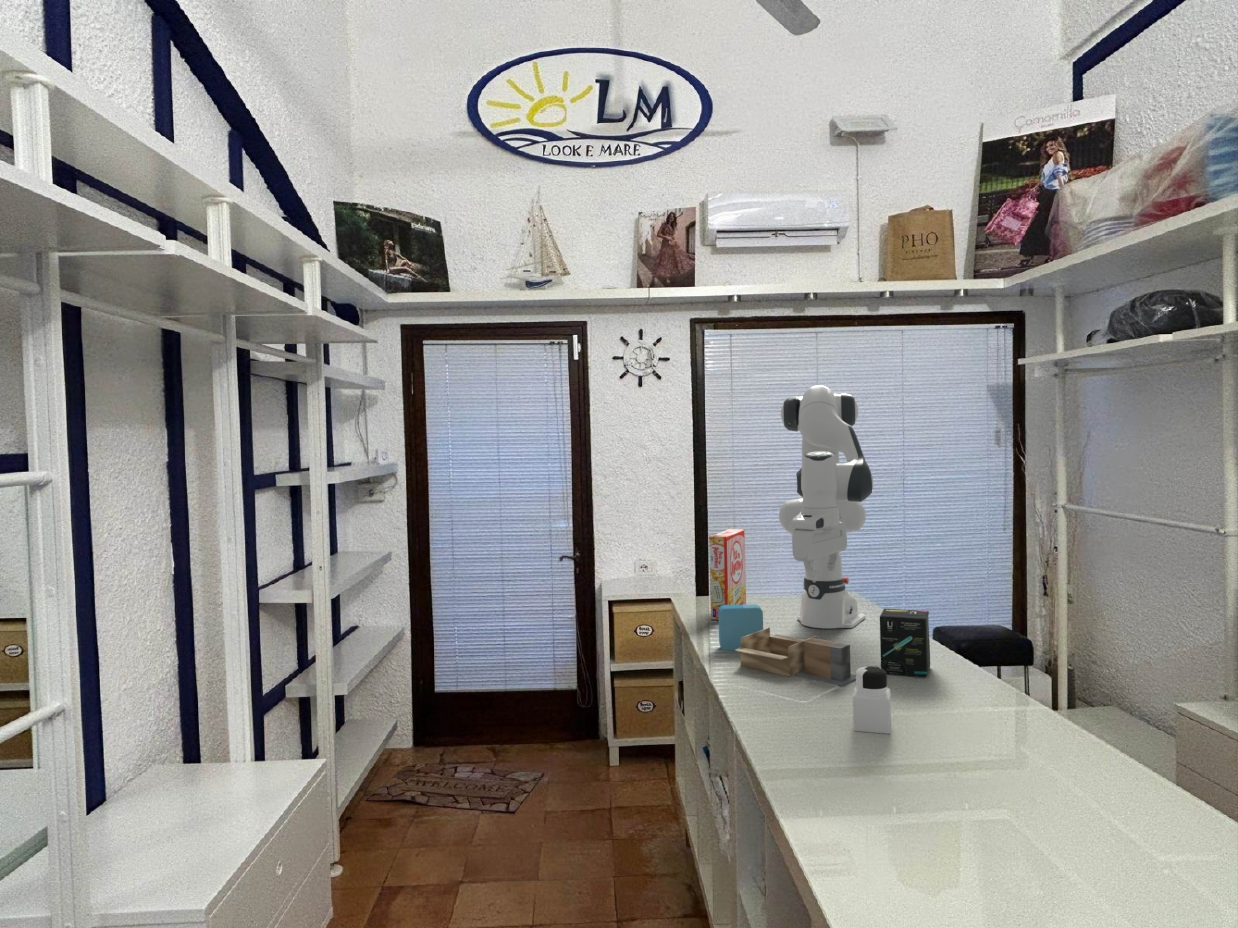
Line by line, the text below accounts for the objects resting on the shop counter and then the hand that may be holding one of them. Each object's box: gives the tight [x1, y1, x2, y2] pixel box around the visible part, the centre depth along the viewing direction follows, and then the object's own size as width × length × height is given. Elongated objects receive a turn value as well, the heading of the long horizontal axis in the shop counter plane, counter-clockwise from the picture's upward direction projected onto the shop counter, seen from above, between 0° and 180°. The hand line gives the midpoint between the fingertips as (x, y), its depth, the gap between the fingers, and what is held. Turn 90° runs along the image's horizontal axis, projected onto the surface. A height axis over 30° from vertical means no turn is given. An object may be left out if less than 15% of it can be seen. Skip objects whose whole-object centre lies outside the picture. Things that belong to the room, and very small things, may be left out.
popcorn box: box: [708, 528, 747, 621], centre depth 268 cm, size 20×6×27 cm, turn 155°
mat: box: [794, 669, 856, 688], centre depth 199 cm, size 9×13×1 cm
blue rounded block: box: [718, 603, 764, 651], centre depth 226 cm, size 12×4×12 cm, turn 87°
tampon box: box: [879, 608, 931, 679], centre depth 201 cm, size 11×9×15 cm
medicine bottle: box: [852, 665, 892, 735], centre depth 166 cm, size 7×7×12 cm
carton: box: [734, 627, 818, 677], centre depth 209 cm, size 19×15×8 cm
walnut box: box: [804, 638, 852, 682], centre depth 199 cm, size 4×10×8 cm, turn 46°
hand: (821, 573), depth 199 cm, fingers open, 8 cm apart
